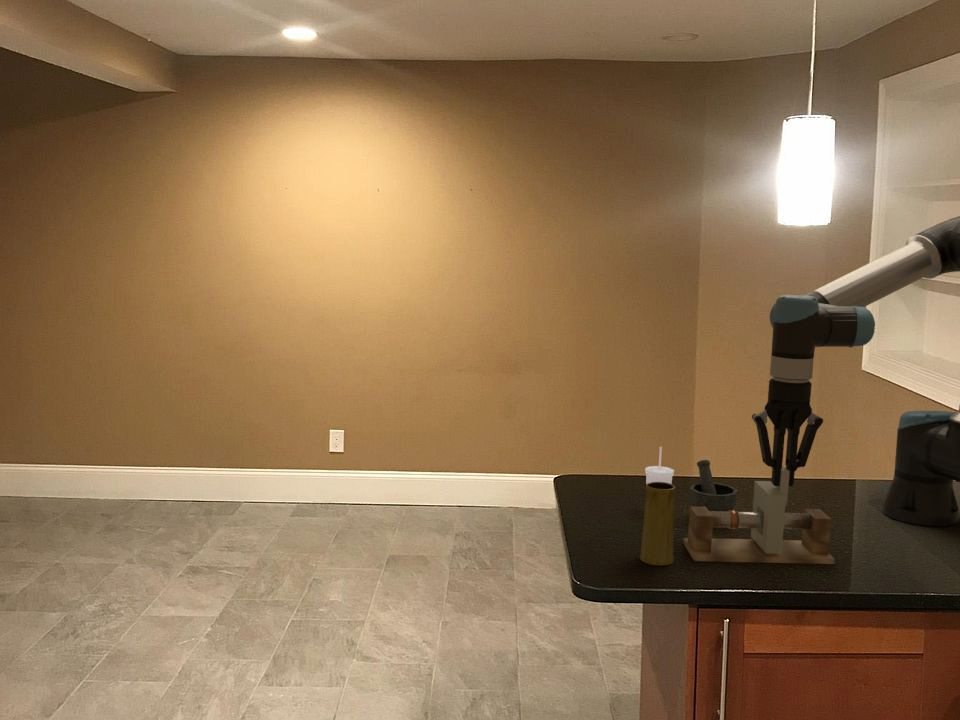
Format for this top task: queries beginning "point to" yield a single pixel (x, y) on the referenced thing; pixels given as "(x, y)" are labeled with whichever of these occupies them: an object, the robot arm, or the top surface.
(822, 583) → the top surface
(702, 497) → the mortar and pestle
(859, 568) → the top surface
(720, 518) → the pipe
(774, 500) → the collar
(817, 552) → the stand
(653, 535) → the vase
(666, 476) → the beverage cup
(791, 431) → the robot arm
